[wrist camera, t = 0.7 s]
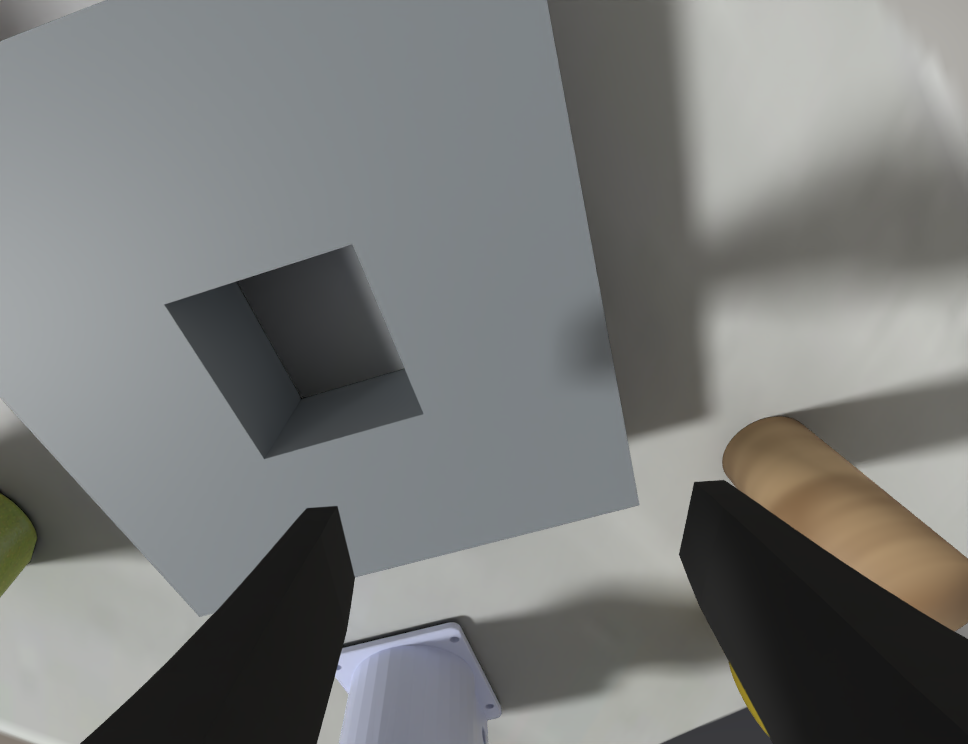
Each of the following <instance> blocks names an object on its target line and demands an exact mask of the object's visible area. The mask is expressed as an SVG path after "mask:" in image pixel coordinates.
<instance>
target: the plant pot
mask: <svg viewBox="0 0 968 744" xmlns="http://www.w3.org/2000/svg"><path fill="white" fill-rule="evenodd" d="M36 540H37V534H36V531H35V529H34V527H33V525H32V523H31V521H30V520H29V519H28V517H27V516H26V515H25V514H24V512H23V511H22V510H21V509H20V508H19V507H18V506H17V505H16V504H14V503H13V502H12V501H11V500H9V499H8V498H7V497H5V496H4V495H2V494H1V493H0V597H1V596H2V595H3V593H4V592H5V591H6V590H7V588H8V587H9V586H10V585H11V584H12V582H13V581H14V580H15V579H16V577H17V576H18V575H19V574H20V572H21V571H22V570H23V569H24V568H25V566H26V565H27V564H28V563H29V562H30V560H31V559H32V558H31V557H32V553H33V550H34V546H35V543H36Z"/></svg>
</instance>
